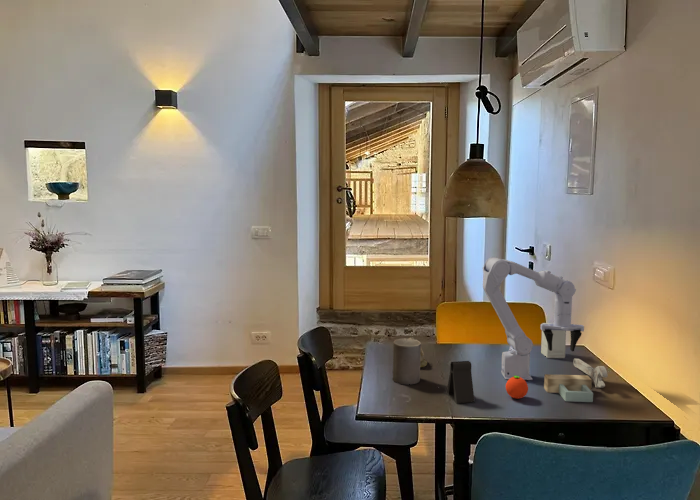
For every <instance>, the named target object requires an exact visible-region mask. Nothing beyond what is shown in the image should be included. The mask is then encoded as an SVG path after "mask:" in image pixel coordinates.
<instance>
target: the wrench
mask: <svg viewBox="0 0 700 500" xmlns="http://www.w3.org/2000/svg"><path fill="white" fill-rule="evenodd" d="M573 366H574V367H575V368H577V369H578V370H580V371H581V372H583V373H585V375H588V376H589V377H590V378H591V379H592V381H593V384H594V387H595V388H596V389H602V388H605V387H606V384H605V382H604V381H603V378H608V371H607V369H606V367H605V366H604V365H597V366H596V367H593V366H591V365H590V364H588V363H587V362H585V361H583V360H582V359H580V358H573Z"/></svg>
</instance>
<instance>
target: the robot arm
mask: <svg viewBox="0 0 700 500" xmlns="http://www.w3.org/2000/svg"><path fill="white" fill-rule="evenodd" d="M482 273H483V277H482V279H483V280H482V288H483V290H484V292H485V294H486V296H487V298H488V300H489V302H490V304H491V306H492V307H493V309H494V311H495V313H496V316H498V318H499V320H500V322H501V324H502V326H503V328H504V333H505V335H506V338H507V339H506V341H507V344H508V345H509V348H508V351H502V353H501V354H502V355H501V371H500V372H501V375H502V376H503V378H504V379H505V380H509V379H510V378H512V377H513V376H519V377H521V378H523V379H524V380H525V381H533V378H532V376H531V374H530V361H531V359H530V357H531V352H532V350H533V348H534V343H533V341H532V339H530V338H529V337H528V336H527V335H526V333H525V332H524V330H523V329H522V328H521V326H520V325H519V323H518V321H517V319H516V318H515V315H514V313H513V312H512V310H511V308H510V306H509V305H508V302H507V300H506V298H505V297H504V295H503V293H502V291H501V289H500V287H501V285H502V282H503V281H504V280H505V279H506V278H507V277H508V276H513V275H516V274H517V275H518V276H522V277H524V278H526V279H527V278H528V279H529V280H532V281H534V283H535V285H536V286H537V287H540V288H541V289H545V290H546V291H550V292H552V293H554V306H553V307H554V311H553V322H551V323H552V324H542V323H541V324H540V327H539V328H540V330H541V332H542V331H543V332H544V334H545V337H546V340H547V343H548V349H549V350H550V351H552V339H553V333H552V331H551V330H561V331H566V332H567V331H569V332H570V333H569V334H570V345H569V349H570V351H571V352H575V350H576V349H575V348H576V346H577V344H578V342H579V339H580V338H581V337H582V335H583V334H582V332H585V326H584V324H574V323H573V324H572V309H573V296H574V295H575V293H576V291H577V289H576V287H575V284H574V283H573V282H572V281H570V280H567V279H565V278H563V276H561V275H555V274H553V273H551V271H550V270H547V269H546V270H541V271H538V272H537V271H536V270H533V269H531V268H529V267H526V266H524V265H522V264H519V263H517V262H514V261H511V260H508V259H503V258H499V257H497V256H491V257H489V258H487V259H486V260H485V263H484V265H483V267H482Z"/></svg>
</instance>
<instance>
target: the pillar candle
mask: <svg viewBox="0 0 700 500" xmlns="http://www.w3.org/2000/svg"><path fill="white" fill-rule="evenodd" d="M392 345H393V346H392V347H393V349H392V350H393V351H392V381H393V382H395V383H396V384H400V385H406V386H407V385H409V384H410V385H416V384H418V383H420V382H421V367H420V353H421V348H422V343H421V341H419V340H418V339H415V338H414V339H409V338H405V337H404V338H397V339H395V340H394V341H393V344H392Z"/></svg>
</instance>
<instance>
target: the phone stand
mask: <svg viewBox="0 0 700 500" xmlns="http://www.w3.org/2000/svg"><path fill="white" fill-rule="evenodd" d="M449 365H450V368H449V370H450V371H449V375H448V381H447V388H446V395H447V396H448V397H449V398H450V399H451V400H452V401H453V402H454V403H455V404H457V405H458V404H470V403H475V401H476V400H475V393H474V383H473V377H472V363H471V361H470V360H460V361H451V362H450V364H449Z"/></svg>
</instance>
